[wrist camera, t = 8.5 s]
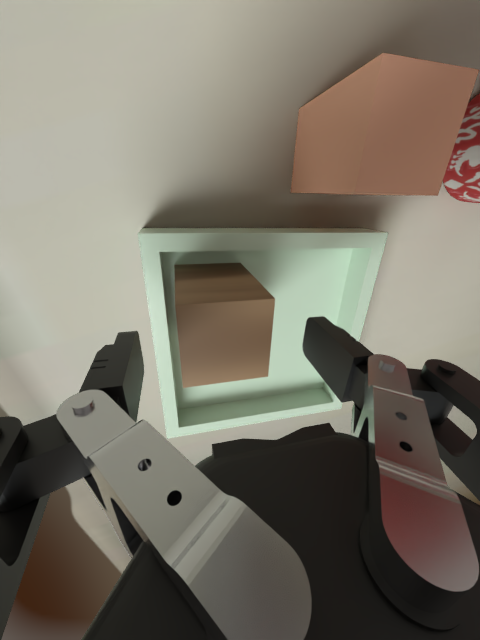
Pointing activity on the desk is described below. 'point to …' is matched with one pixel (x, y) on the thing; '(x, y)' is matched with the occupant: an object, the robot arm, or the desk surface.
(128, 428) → the robot arm
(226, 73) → the desk surface
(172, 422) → the tray
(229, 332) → the walnut block
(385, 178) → the terracotta block
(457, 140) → the mug
